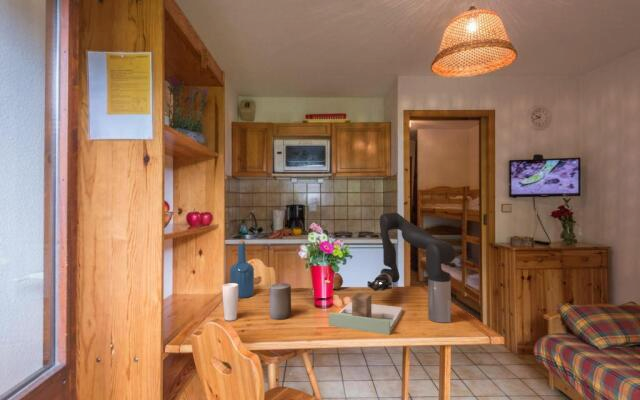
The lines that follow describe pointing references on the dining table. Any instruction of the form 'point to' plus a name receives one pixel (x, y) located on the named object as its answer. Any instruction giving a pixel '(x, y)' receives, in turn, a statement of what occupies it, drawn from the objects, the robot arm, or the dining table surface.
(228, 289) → the drinking glass
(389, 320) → the shallow open tray
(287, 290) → the pillar candle
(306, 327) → the dining table surface
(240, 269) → the wine bottle
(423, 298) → the dining table surface
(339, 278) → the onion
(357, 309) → the walnut block
